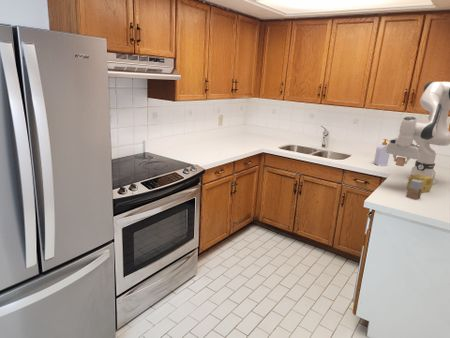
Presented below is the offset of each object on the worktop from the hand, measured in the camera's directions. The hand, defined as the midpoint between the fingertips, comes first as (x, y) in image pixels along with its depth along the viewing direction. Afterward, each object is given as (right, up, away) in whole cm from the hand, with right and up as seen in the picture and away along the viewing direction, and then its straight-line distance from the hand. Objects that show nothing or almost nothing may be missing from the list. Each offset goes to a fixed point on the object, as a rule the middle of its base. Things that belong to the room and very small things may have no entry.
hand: (400, 162), depth 213 cm
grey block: (+3, -16, -12) cm, 21 cm away
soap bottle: (+19, -1, +67) cm, 70 cm away
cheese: (+15, -19, +5) cm, 25 cm away
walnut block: (+2, -22, -11) cm, 25 cm away
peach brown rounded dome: (0, -2, 0) cm, 2 cm away
